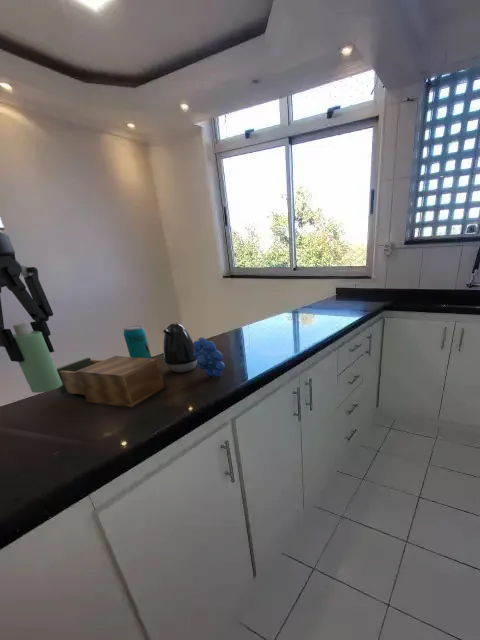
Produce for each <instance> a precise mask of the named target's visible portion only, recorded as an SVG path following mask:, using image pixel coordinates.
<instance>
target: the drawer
mask: <svg viewBox="0 0 480 640" xmlns="http://www.w3.org/2000/svg"><path fill="white" fill-rule="evenodd" d="M101 361H103V359H93V358H92V359H91V357H85V358H82V359H79V360H76V361H73V362H70V363H68V364H65V365H63V366H60V367H56V369H57V372H58V374H59V377H60V379H61V381H62V386H61V387H59V388H57V389H56V390H57V392H58V394H59V395H64V394H67V393H68V394H72V395H73V394H75V395H81V396H85V395H84V392H83V389H82V387H81V384H80V382H79V379H78V376H77V374H76V371H78V370H80V369H83V368H85V367H88V366H91V365H93V364H96V363H98V362H101Z"/></svg>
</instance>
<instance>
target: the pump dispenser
mask: <svg viewBox="0 0 480 640" xmlns="http://www.w3.org/2000/svg"><path fill="white" fill-rule="evenodd" d="M162 333H163V334H164V336H163V344H162V346H163V349H162V350H163V359H164V363H165V364H166V365H167V367H168V368H169V369H170V371H172V372H175V373H178V374H179V373H181V374H182V373H188V372H190V371H192V370H194V368H196V366H197V365H198V362H197V359H195V358H194V356H193V351H194V350H195V349H194V347H193V343H194V341H193V339H192V337H191V335H190V333H189V332H188V331H187V329H186V328H185V327H184V326H183V325H182V324H180V323H178V322H173V323H170V324H168V325H167V326H166V329H163V332H162Z"/></svg>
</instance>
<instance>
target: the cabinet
mask: <svg viewBox="0 0 480 640" xmlns="http://www.w3.org/2000/svg"><path fill="white" fill-rule="evenodd" d="M151 358H152V357H151ZM151 358H137V357H130V356H123V355H122V356H120V355H114V356H111V357H109V358H106V359H104V360H103V359H102V360H103V361H101V362H98V363H96V364H93V365H91V366H88V367H85V368H83V369H80V370H78V371H76V374H77V376H78V379H79V382H80V384H81V387H82V389H83V392H84V395H83V396H84V397H85V400H86V402H87V403H94V404H95V403H96V404H101V405H103V404H104V405H109V406H110V405H111V406H118V407H125V408H127V407H128V408H133V407H134V406H136V405H138V404H140V403H141V402H142V401H145V400H146V399H148V398H150V397H151V396H152V395H155V394H156V393H158V392H159V391H161V390H163V389H164V388H165V383H164V379H163V376H162V372H161V368H160V364H159V360H158V358H152V359H151Z"/></svg>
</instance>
